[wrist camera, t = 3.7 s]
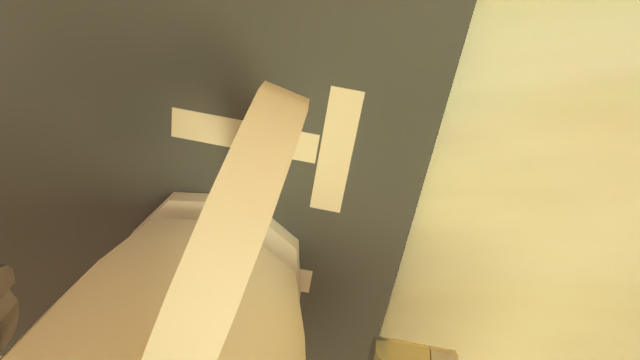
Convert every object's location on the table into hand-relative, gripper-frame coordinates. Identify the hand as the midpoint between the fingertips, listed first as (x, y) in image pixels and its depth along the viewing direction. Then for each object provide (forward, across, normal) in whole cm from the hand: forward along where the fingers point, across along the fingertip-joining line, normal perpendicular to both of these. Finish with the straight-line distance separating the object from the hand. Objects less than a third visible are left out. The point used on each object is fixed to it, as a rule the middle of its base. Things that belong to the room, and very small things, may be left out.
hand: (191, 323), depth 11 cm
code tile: (+4, +3, 0) cm, 5 cm away
